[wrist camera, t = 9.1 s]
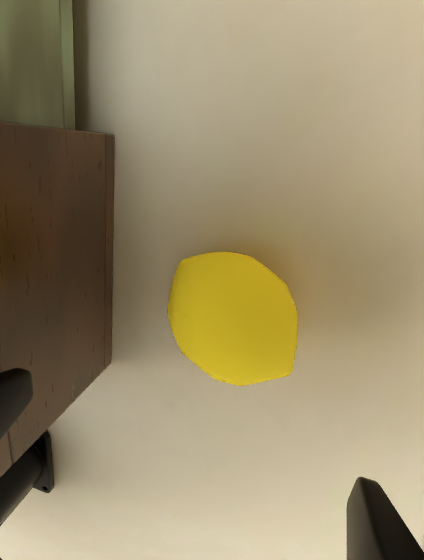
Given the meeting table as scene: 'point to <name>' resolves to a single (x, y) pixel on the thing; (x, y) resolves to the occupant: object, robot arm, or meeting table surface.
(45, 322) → the cabinet
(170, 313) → the lemon
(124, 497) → the meeting table surface
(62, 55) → the drawer
